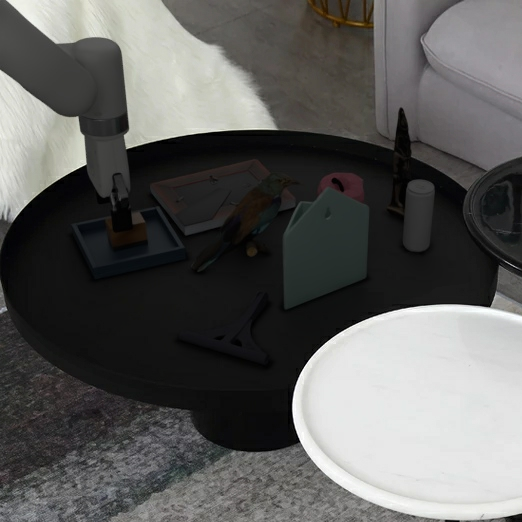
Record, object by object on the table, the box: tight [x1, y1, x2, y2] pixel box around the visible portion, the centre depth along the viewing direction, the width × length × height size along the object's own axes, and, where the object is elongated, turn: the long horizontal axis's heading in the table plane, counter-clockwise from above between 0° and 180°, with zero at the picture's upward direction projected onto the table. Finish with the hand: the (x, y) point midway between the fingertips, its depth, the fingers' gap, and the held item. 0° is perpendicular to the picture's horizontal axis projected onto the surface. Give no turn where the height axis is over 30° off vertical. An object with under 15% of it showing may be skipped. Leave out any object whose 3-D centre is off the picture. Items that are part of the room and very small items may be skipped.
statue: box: [386, 106, 413, 220], centre depth 177 cm, size 4×7×20 cm, turn 49°
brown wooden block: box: [105, 212, 148, 252], centre depth 170 cm, size 6×4×4 cm, turn 117°
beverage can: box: [402, 179, 436, 253], centre depth 172 cm, size 5×5×12 cm
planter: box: [282, 187, 370, 310], centre depth 160 cm, size 16×8×20 cm, turn 127°
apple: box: [316, 172, 366, 205], centre depth 177 cm, size 10×9×10 cm
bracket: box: [178, 290, 270, 366], centre depth 155 cm, size 14×15×3 cm
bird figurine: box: [190, 171, 303, 273], centre depth 168 cm, size 13×10×20 cm
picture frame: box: [149, 158, 297, 237], centre depth 183 cm, size 16×2×22 cm
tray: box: [70, 205, 187, 280], centre depth 171 cm, size 16×15×2 cm
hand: (114, 216), depth 166 cm, fingers open, 9 cm apart
